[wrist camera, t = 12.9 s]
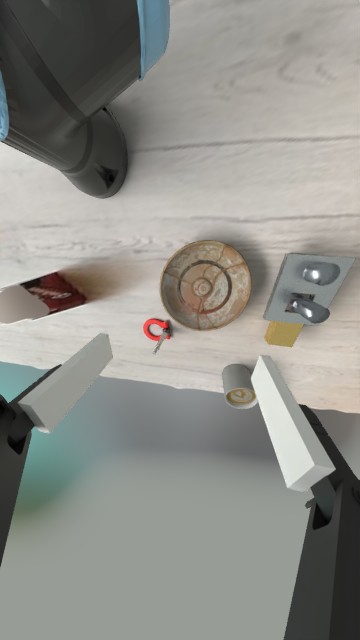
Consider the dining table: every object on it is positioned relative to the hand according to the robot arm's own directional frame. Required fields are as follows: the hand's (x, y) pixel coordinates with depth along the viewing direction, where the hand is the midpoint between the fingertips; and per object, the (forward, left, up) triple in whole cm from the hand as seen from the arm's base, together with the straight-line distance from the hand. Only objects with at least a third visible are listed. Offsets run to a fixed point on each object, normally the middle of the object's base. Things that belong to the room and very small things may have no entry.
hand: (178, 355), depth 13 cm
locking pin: (+2, +24, -32) cm, 40 cm away
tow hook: (+18, -12, -32) cm, 39 cm away
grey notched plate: (+3, +24, -32) cm, 40 cm away
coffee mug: (+35, +18, -32) cm, 51 cm away
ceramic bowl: (+2, +2, -32) cm, 32 cm away
